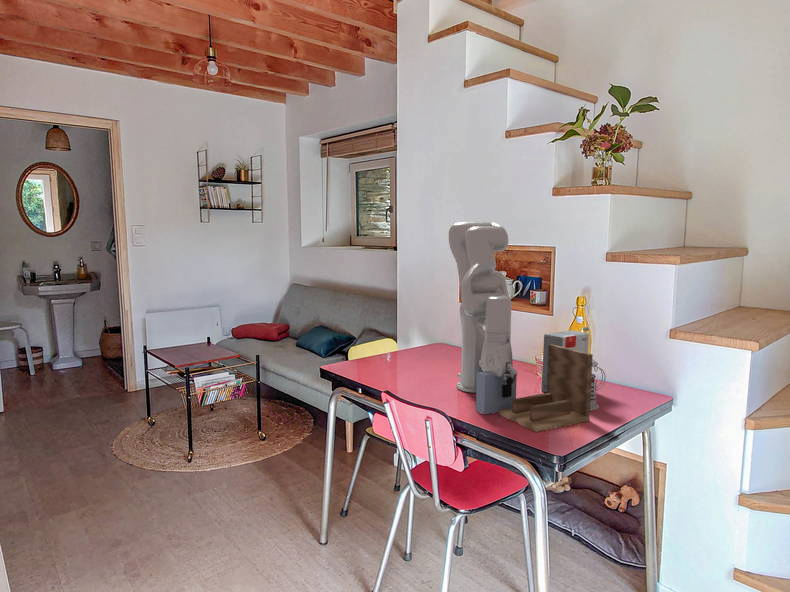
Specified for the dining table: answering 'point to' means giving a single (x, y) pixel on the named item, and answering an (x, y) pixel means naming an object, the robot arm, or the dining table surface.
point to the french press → (593, 380)
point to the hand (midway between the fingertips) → (496, 392)
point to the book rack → (557, 393)
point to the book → (492, 393)
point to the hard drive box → (562, 339)
